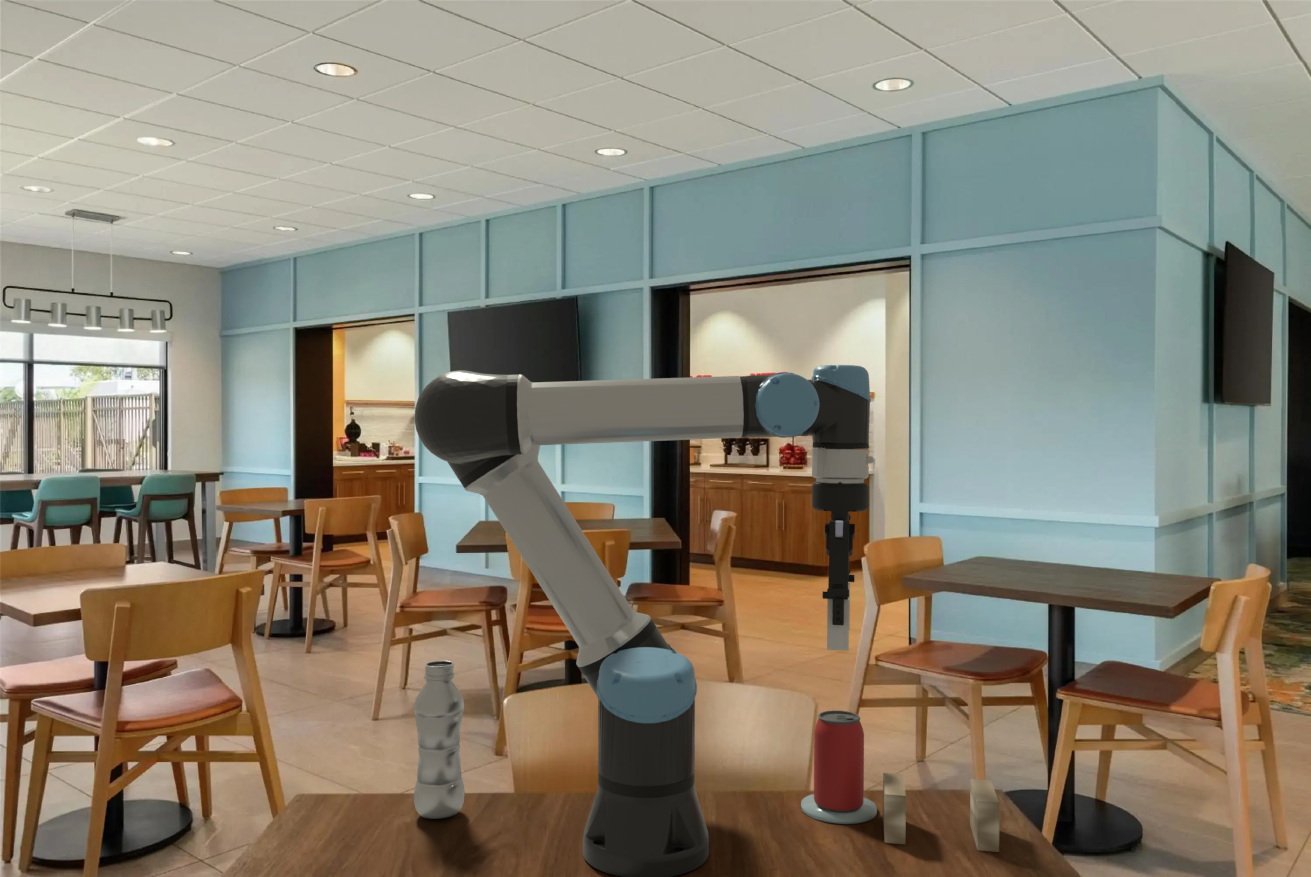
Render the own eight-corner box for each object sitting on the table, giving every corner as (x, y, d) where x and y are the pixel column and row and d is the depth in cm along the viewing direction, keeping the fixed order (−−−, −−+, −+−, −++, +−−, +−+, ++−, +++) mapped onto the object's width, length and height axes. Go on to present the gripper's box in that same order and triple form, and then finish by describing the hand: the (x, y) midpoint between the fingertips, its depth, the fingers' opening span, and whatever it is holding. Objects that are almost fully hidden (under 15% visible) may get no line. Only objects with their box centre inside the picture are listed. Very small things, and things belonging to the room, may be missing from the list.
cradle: (884, 842, 126) (884, 794, 126) (882, 818, 134) (883, 773, 134) (998, 852, 123) (999, 802, 123) (990, 826, 131) (990, 780, 131)
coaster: (799, 820, 133) (799, 816, 133) (802, 794, 142) (803, 789, 142) (877, 826, 131) (877, 822, 131) (876, 799, 141) (876, 794, 141)
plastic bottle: (475, 812, 135) (475, 661, 135) (438, 829, 129) (439, 671, 129) (439, 802, 138) (440, 655, 138) (402, 818, 133) (403, 665, 133)
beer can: (863, 816, 133) (864, 724, 133) (812, 812, 134) (813, 721, 134) (863, 798, 139) (864, 710, 139) (814, 794, 141) (815, 707, 140)
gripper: (869, 486, 123) (868, 660, 124) (868, 477, 148) (866, 623, 148) (807, 485, 125) (805, 657, 125) (816, 476, 149) (814, 620, 150)
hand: (838, 639), depth 137 cm, fingers open, 13 cm apart
